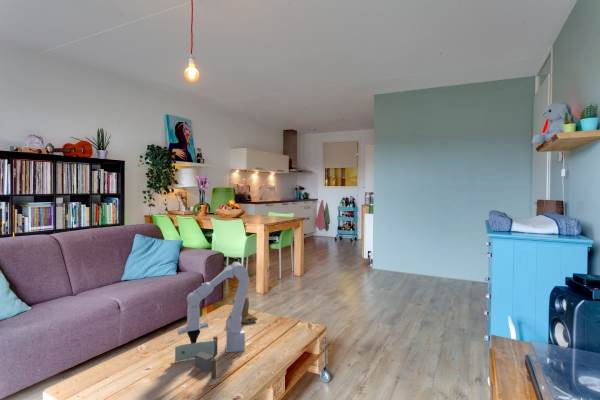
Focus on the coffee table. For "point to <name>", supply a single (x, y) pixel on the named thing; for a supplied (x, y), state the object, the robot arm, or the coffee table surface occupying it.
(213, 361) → the door frame
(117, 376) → the coffee table surface
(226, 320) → the robot arm
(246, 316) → the brown boot
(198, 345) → the door
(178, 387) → the coffee table surface
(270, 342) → the coffee table surface
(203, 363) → the block
